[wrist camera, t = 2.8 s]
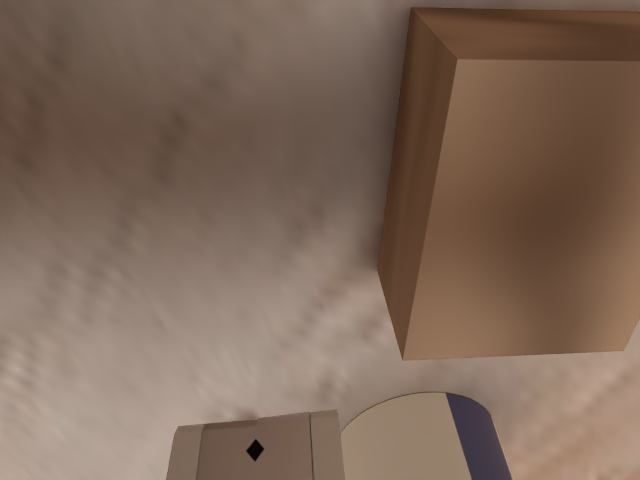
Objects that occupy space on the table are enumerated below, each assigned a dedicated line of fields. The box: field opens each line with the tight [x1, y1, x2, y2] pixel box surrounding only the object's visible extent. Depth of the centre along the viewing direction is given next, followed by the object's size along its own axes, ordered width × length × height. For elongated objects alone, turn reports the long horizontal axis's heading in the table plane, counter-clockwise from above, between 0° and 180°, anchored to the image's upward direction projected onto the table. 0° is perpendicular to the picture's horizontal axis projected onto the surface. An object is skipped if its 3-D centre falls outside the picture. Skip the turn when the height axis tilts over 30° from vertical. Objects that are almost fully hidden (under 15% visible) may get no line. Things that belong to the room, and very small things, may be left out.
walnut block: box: [378, 7, 640, 360], centre depth 16 cm, size 7×9×4 cm
